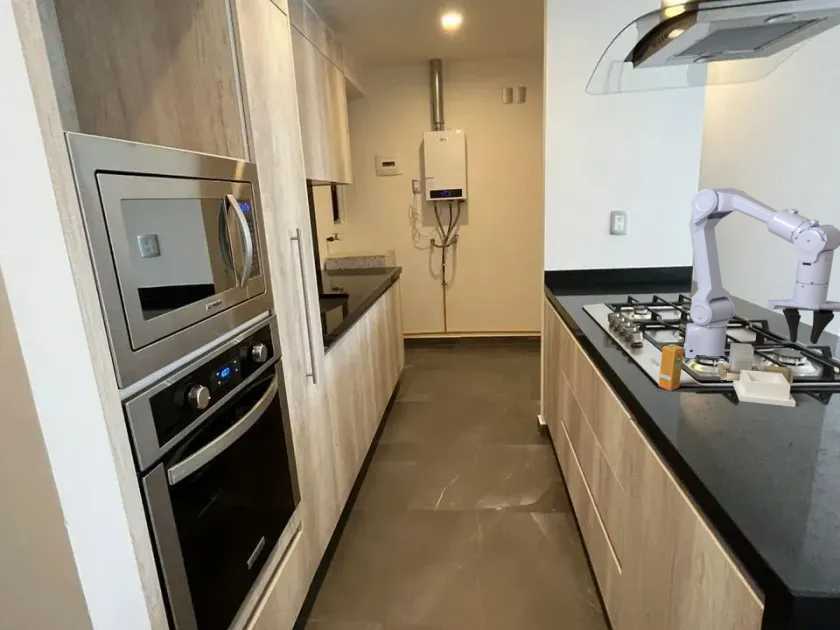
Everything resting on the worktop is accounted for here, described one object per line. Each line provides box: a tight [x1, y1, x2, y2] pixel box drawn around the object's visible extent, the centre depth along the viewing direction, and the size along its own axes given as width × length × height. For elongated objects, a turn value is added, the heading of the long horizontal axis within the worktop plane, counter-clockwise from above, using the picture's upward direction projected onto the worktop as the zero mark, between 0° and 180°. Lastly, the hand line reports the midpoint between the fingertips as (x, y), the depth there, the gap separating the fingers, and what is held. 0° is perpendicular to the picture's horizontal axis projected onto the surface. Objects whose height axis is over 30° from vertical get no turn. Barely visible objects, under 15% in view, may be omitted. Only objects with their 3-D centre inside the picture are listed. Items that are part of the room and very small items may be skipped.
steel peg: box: [727, 342, 755, 374], centre depth 113 cm, size 4×4×8 cm
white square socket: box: [732, 370, 797, 408], centre depth 104 cm, size 10×10×4 cm
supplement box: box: [658, 343, 685, 391], centre depth 110 cm, size 3×3×10 cm
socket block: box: [716, 362, 760, 381], centre depth 114 cm, size 8×8×2 cm
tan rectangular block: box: [763, 365, 795, 385], centre depth 111 cm, size 5×2×3 cm, turn 65°
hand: (803, 341), depth 107 cm, fingers open, 3 cm apart
